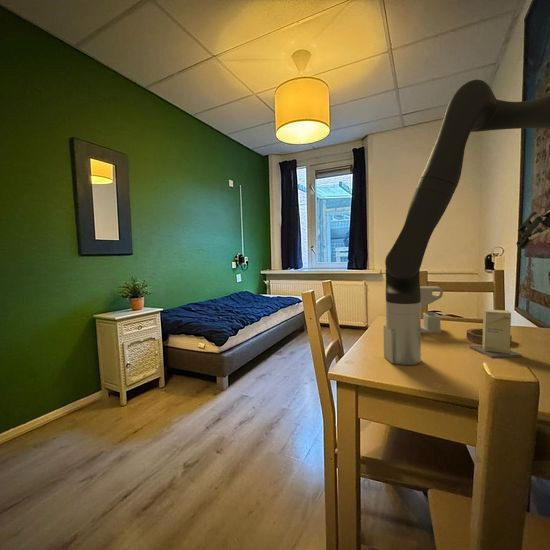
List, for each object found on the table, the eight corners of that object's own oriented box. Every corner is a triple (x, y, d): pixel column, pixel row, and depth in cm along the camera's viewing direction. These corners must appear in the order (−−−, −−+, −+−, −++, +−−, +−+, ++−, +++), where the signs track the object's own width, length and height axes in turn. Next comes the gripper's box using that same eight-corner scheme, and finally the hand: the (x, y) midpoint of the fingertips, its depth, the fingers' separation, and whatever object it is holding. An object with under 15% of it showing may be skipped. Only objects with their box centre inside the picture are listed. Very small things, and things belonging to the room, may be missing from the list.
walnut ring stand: (483, 346, 94) (483, 338, 93) (459, 335, 106) (459, 329, 106) (520, 345, 94) (520, 337, 93) (492, 334, 106) (492, 328, 106)
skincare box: (484, 351, 87) (485, 311, 87) (481, 346, 91) (482, 308, 91) (510, 353, 85) (511, 312, 84) (506, 349, 88) (507, 310, 88)
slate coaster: (490, 357, 84) (490, 355, 84) (469, 347, 93) (469, 346, 93) (521, 356, 84) (521, 354, 84) (497, 346, 93) (497, 344, 93)
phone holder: (434, 326, 120) (434, 283, 118) (443, 333, 110) (443, 286, 108) (390, 326, 123) (389, 284, 122) (394, 332, 113) (394, 287, 112)
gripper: (604, 182, 66) (553, 236, 78) (541, 184, 66) (501, 237, 78) (631, 202, 61) (573, 256, 73) (563, 203, 61) (516, 257, 73)
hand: (535, 246), depth 76 cm, fingers open, 8 cm apart
